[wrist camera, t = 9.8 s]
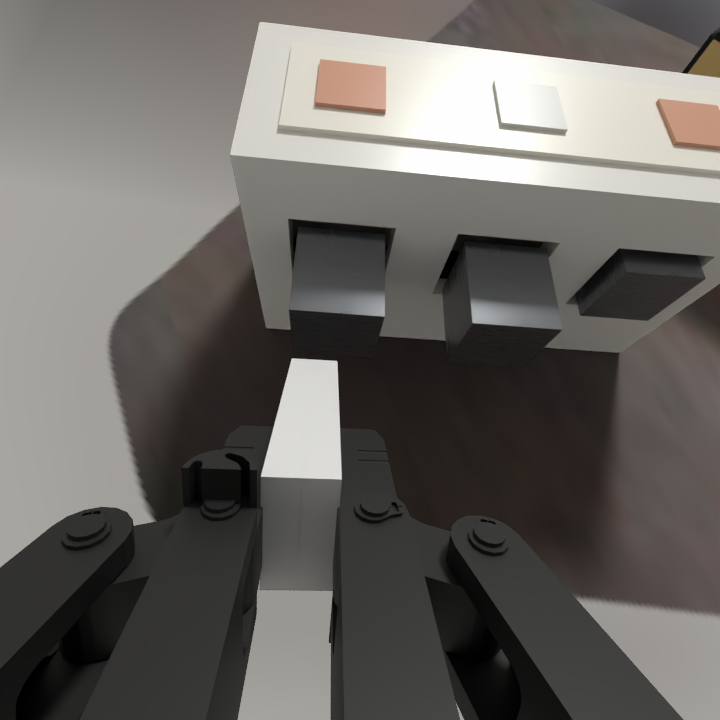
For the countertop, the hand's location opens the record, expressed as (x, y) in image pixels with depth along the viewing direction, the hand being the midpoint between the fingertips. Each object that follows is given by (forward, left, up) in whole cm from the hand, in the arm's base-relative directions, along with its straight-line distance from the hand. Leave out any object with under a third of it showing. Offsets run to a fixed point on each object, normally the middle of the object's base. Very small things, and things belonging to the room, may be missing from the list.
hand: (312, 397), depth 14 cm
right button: (-8, -15, -4) cm, 17 cm away
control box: (-1, -14, -9) cm, 16 cm away
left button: (+2, -5, -4) cm, 7 cm away
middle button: (-4, -9, -4) cm, 10 cm away
